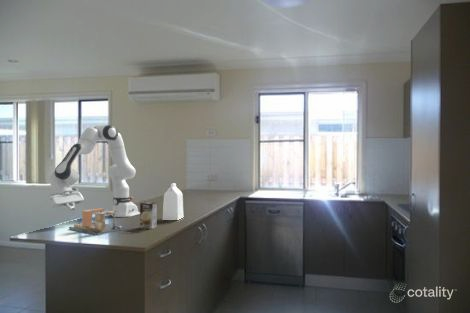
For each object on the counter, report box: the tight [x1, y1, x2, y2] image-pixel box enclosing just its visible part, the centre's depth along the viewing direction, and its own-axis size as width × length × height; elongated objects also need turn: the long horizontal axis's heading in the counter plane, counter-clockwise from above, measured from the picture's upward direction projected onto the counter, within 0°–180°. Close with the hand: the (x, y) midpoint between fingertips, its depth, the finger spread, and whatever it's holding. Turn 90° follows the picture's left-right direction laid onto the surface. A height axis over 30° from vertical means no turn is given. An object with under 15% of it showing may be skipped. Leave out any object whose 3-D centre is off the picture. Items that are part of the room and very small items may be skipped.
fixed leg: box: [73, 210, 116, 232], centre depth 217 cm, size 13×26×11 cm, turn 57°
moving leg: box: [81, 207, 105, 227], centre depth 218 cm, size 13×4×10 cm, turn 147°
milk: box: [162, 182, 185, 221], centre depth 254 cm, size 12×12×26 cm
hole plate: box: [68, 220, 126, 236], centre depth 219 cm, size 20×28×2 cm
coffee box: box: [139, 201, 158, 230], centre depth 225 cm, size 9×6×16 cm
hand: (72, 209), depth 223 cm, fingers closed
